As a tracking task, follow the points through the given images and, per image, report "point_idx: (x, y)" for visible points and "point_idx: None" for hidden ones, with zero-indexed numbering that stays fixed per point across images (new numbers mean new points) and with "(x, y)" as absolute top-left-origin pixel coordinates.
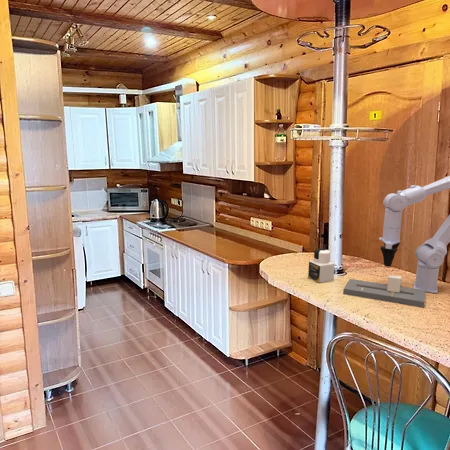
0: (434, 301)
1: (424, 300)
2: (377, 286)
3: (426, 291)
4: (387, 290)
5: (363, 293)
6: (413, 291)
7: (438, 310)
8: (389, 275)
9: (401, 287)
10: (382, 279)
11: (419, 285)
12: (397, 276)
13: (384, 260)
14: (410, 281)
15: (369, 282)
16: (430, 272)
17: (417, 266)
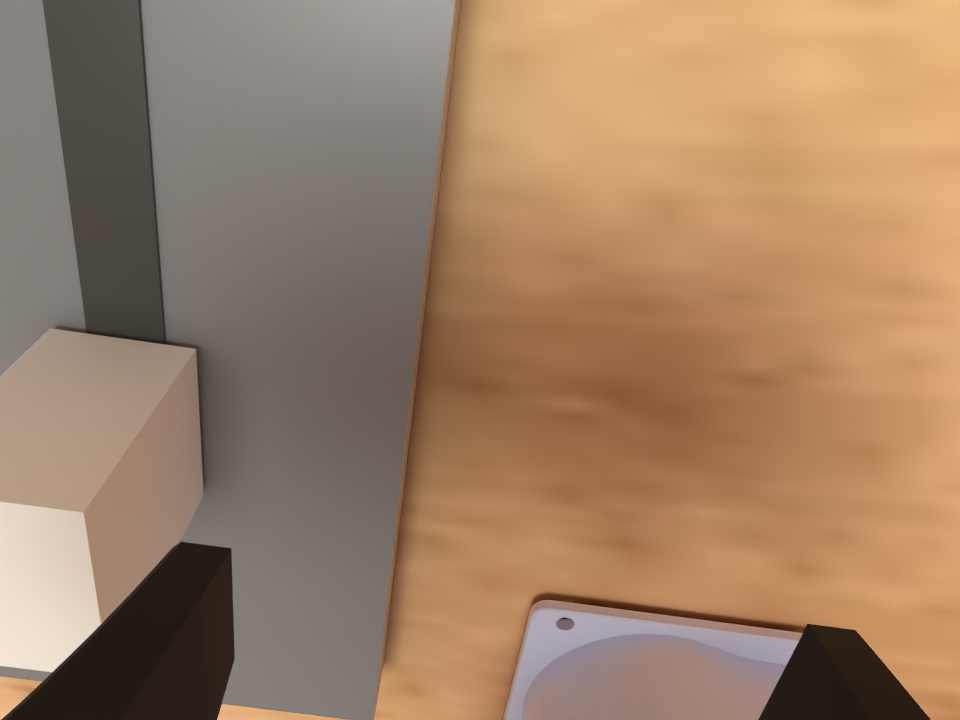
0: (247, 707)
1: (3, 674)
2: (217, 185)
3: (509, 695)
4: (49, 337)
5: None
6: (260, 619)
7: (11, 700)
8: (28, 513)
9: (353, 517)
10: (953, 267)
11: (560, 691)
12: (60, 628)
13: (64, 685)
14: (889, 600)
15: (396, 30)
16: None
17: None
